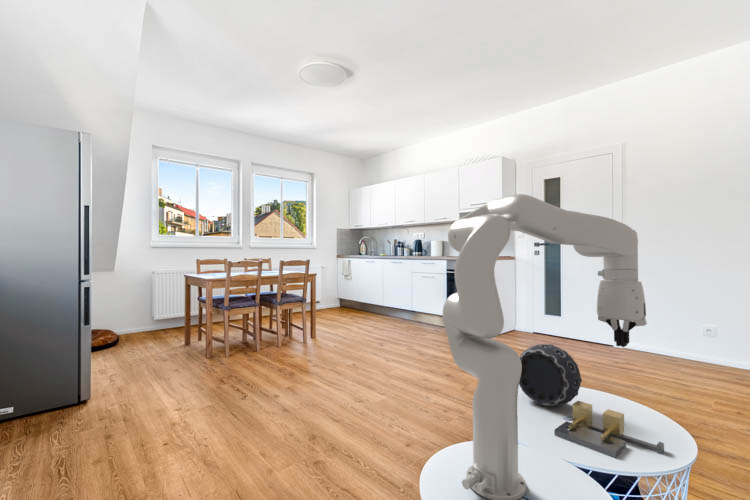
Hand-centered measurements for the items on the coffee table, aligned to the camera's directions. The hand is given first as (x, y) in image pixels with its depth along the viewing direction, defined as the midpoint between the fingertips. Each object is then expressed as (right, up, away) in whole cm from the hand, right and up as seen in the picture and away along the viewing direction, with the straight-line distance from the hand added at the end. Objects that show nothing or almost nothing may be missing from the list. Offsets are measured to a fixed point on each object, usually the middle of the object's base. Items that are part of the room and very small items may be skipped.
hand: (621, 345), depth 94 cm
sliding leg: (-1, -26, +4) cm, 26 cm away
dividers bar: (0, -27, +4) cm, 27 cm away
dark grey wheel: (-6, -28, +28) cm, 40 cm away
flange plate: (-6, -27, +4) cm, 28 cm away
